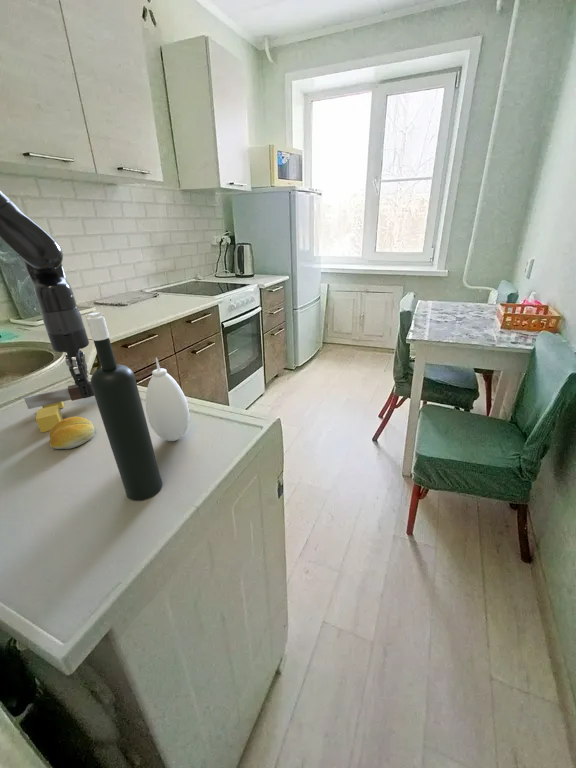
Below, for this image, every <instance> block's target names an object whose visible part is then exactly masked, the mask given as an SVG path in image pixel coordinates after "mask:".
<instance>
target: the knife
mask: <svg viewBox="0 0 576 768" xmlns="http://www.w3.org/2000/svg"><path fill="white" fill-rule="evenodd" d="M88 384H89V387H90V390H91V393H92V396H91V397H95V396H94V393H93V390H92V386H91V380H89V382H88ZM23 399H24V403H25V404H26V407H27V409H28V410H32V409H36V408H41V407H42V406H45V405H50V404H54V403H58V402H63V403H64V402H67V401H72V402H73V401H78V400H82V399H83V398H82V396H81V393H80V390H79V387H78V385H77V386H76V384H75V383H74V384H72V385H67V388H61V389H57V390H52V391H48V392H43V393H38V394H34V395H29V396H24V397H23Z"/></svg>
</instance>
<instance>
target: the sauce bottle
mask: <svg viewBox="0 0 576 768" xmlns="http://www.w3.org/2000/svg"><path fill="white" fill-rule="evenodd" d="M155 364H156V369H153V370H152V371H151V375H152V376H151V377H150V378H149V382H148V385H147V388H146V393H145V413H146V416H147V419H148V423H149V425H150V427H151V429H152V430H153V432H154V433H155V434H156V435H157V437H159V438H160V439H162V440H165V441H167V442H174V441H177V440H179V439H181V438H182V437H183V436H184V435H185V434H186V432H187V431H188V428H189V424H190V418H191V416H190V415H191V414H190V409H189V404H188V403H189V402H188V400H187V397H186V395H185V393H184V391H183V389H182V388H181V386H180V385H179V384H178V382H177V381H176V380H175V379H174V377H173V376H171V375H170V374H169V373H168V370H167V369H166V368H163V367H161V366H160V362H159V359H158V357H155Z"/></svg>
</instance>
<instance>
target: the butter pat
mask: <svg viewBox="0 0 576 768" xmlns="http://www.w3.org/2000/svg"><path fill="white" fill-rule="evenodd" d="M64 404H65V403H64V401H63V402H58V403H54V404H50V405H45V406H41V407H42V408H47V407H51V406H55V405H58V406H59V409H64Z"/></svg>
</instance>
